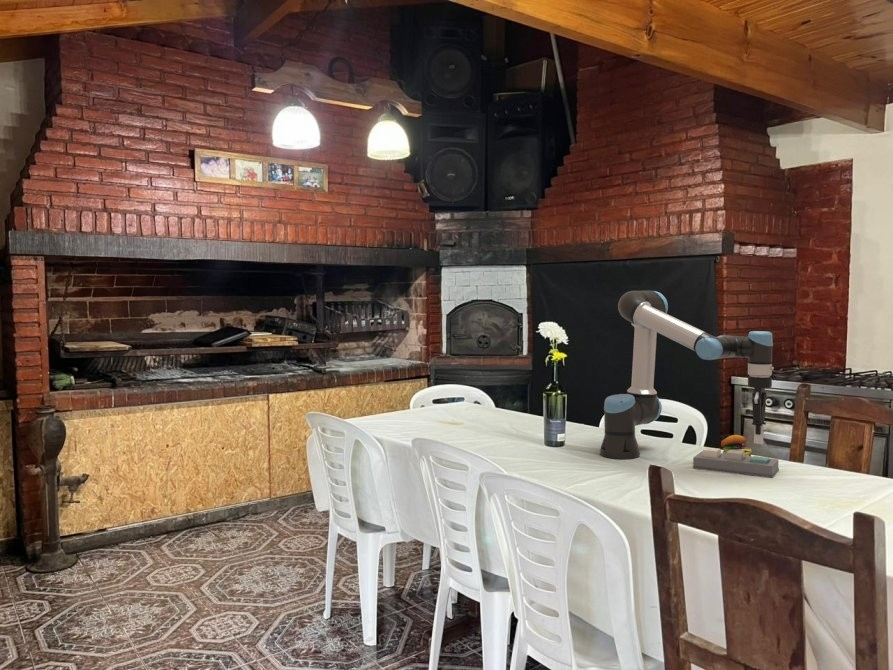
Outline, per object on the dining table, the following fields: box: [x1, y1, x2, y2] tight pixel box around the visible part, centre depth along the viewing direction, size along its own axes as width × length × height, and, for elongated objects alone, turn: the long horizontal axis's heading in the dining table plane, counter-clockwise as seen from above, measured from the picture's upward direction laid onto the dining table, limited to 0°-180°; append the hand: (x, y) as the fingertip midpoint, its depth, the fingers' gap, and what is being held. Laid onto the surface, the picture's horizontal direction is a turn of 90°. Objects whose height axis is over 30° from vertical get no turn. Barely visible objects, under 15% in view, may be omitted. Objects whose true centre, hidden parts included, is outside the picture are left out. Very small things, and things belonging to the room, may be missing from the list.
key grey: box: [726, 450, 744, 461], centre depth 234 cm, size 5×5×4 cm
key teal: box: [751, 455, 770, 464], centre depth 230 cm, size 5×5×4 cm
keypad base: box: [692, 450, 780, 479], centre depth 234 cm, size 26×12×4 cm, turn 54°
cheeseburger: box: [720, 434, 753, 456], centre depth 252 cm, size 10×11×10 cm
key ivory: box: [702, 446, 722, 458], centre depth 239 cm, size 5×5×4 cm
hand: (758, 443), depth 230 cm, fingers closed
